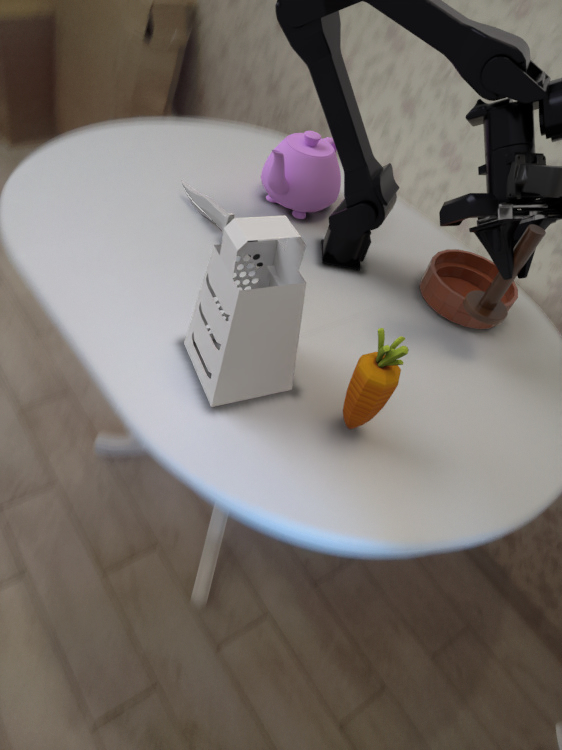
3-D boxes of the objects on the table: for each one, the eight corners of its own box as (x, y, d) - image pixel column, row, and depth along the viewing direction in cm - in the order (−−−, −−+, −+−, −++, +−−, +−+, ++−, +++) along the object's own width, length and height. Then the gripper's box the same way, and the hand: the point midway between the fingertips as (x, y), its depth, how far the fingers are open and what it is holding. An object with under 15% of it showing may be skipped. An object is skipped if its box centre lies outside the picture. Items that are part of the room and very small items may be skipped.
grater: (183, 343, 65) (198, 199, 50) (259, 331, 69) (293, 196, 54) (211, 407, 59) (236, 266, 44) (291, 389, 63) (338, 256, 49)
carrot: (326, 409, 62) (367, 318, 51) (364, 411, 63) (412, 323, 52) (332, 443, 59) (377, 354, 48) (372, 445, 60) (425, 359, 49)
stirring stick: (468, 320, 69) (521, 238, 59) (458, 292, 73) (507, 211, 63) (509, 328, 69) (568, 248, 60) (497, 300, 73) (551, 220, 64)
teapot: (290, 241, 85) (308, 169, 76) (227, 200, 89) (237, 128, 80) (353, 205, 97) (375, 140, 88) (295, 171, 101) (310, 106, 92)
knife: (175, 193, 87) (177, 165, 83) (184, 192, 88) (187, 164, 84) (259, 281, 76) (265, 253, 72) (268, 278, 77) (275, 251, 73)
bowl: (426, 323, 78) (440, 298, 74) (412, 267, 87) (424, 242, 84) (511, 338, 80) (529, 314, 76) (488, 281, 89) (503, 258, 86)
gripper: (504, 122, 53) (511, 276, 54) (624, 131, 60) (627, 267, 62) (432, 157, 63) (440, 286, 65) (542, 161, 70) (546, 277, 72)
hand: (515, 278), depth 65 cm, fingers closed on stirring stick, 2 cm apart
